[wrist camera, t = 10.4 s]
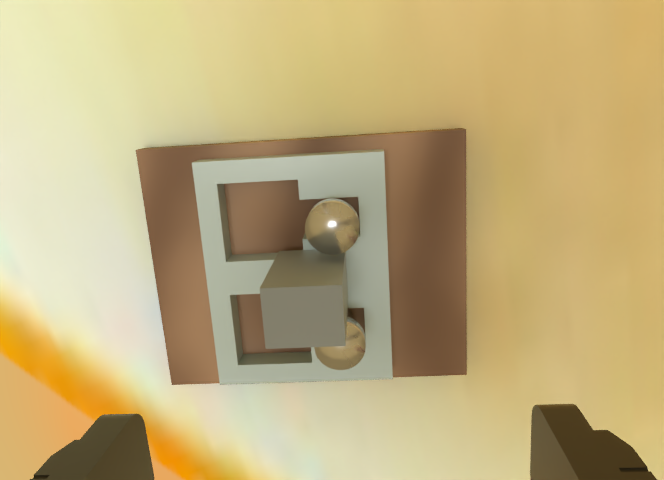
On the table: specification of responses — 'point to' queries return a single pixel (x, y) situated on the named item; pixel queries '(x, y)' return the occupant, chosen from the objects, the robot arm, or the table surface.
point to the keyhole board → (287, 234)
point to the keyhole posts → (335, 238)
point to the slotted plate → (257, 265)
